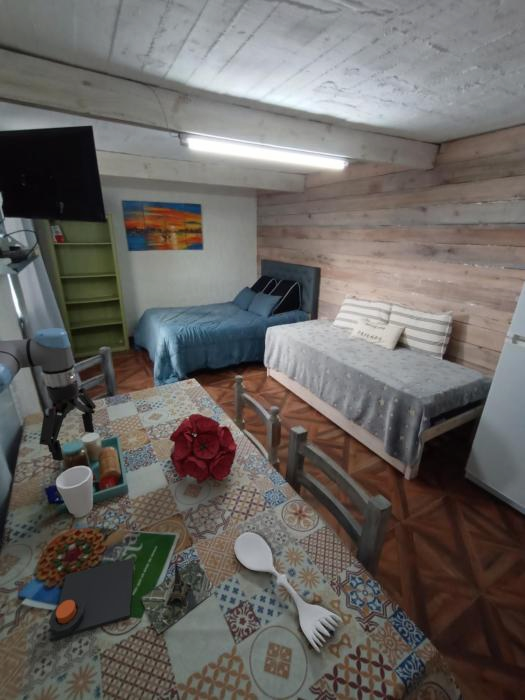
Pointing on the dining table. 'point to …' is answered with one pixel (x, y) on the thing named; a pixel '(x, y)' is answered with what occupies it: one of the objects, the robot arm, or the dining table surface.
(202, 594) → the eiffel tower figurine
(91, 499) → the foam cup
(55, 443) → the robot arm
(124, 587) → the scale
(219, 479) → the bouquet
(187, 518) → the dining table surface
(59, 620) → the tare button
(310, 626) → the spoon
